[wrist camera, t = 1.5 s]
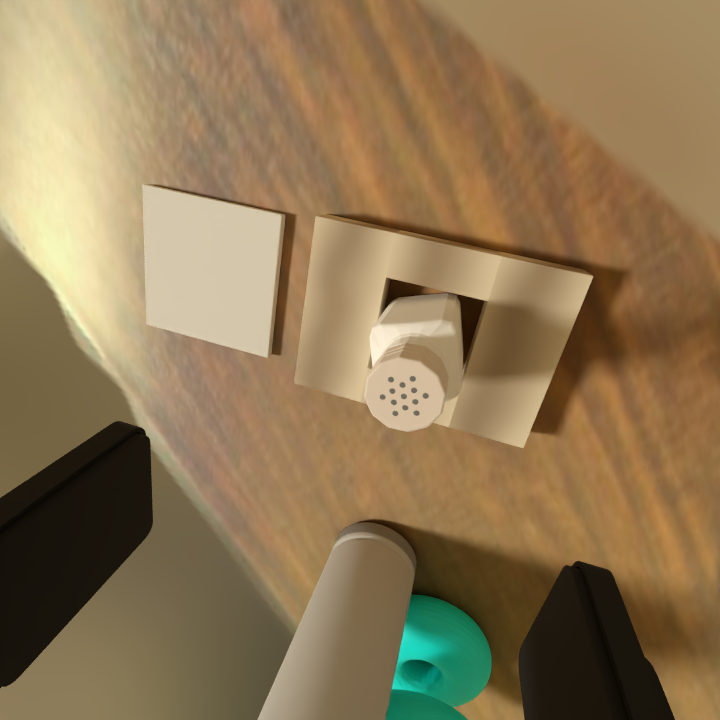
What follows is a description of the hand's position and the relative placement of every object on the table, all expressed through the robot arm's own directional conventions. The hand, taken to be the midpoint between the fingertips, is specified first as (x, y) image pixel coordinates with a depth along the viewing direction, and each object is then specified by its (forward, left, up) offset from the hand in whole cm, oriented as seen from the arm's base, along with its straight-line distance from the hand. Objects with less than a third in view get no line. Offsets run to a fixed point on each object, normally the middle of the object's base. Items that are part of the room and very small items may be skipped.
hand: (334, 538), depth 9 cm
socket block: (0, 0, -17) cm, 17 cm away
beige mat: (+14, 0, -17) cm, 22 cm away
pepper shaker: (0, 0, -18) cm, 18 cm away
